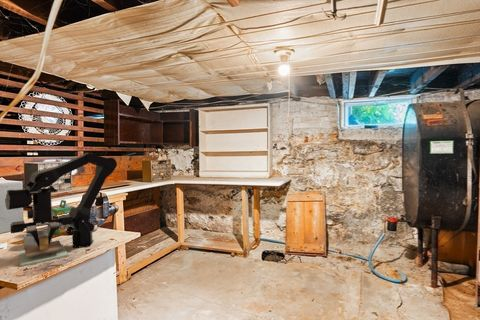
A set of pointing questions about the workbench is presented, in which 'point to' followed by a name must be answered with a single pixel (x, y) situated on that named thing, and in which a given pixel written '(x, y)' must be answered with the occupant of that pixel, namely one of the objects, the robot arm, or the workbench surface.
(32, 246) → the cover
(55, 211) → the green lantern
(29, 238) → the bowl
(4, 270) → the workbench surface
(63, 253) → the mat
